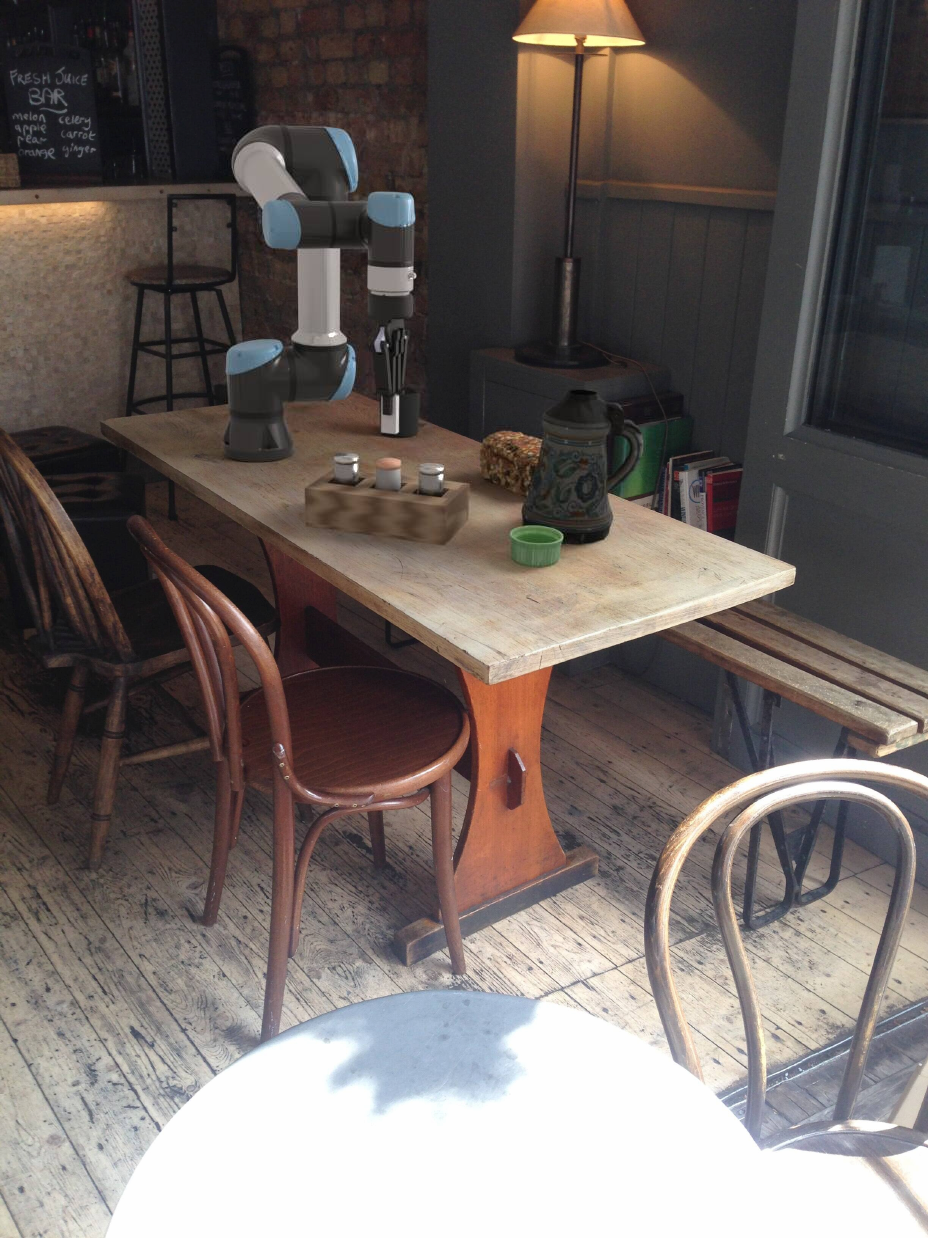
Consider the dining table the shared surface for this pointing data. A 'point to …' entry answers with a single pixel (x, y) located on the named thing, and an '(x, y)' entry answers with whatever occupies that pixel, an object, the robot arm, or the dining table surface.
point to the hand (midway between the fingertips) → (389, 431)
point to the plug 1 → (346, 469)
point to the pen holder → (406, 413)
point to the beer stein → (579, 467)
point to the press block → (387, 508)
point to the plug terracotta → (388, 474)
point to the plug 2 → (431, 479)
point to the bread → (510, 460)
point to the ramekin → (535, 545)
